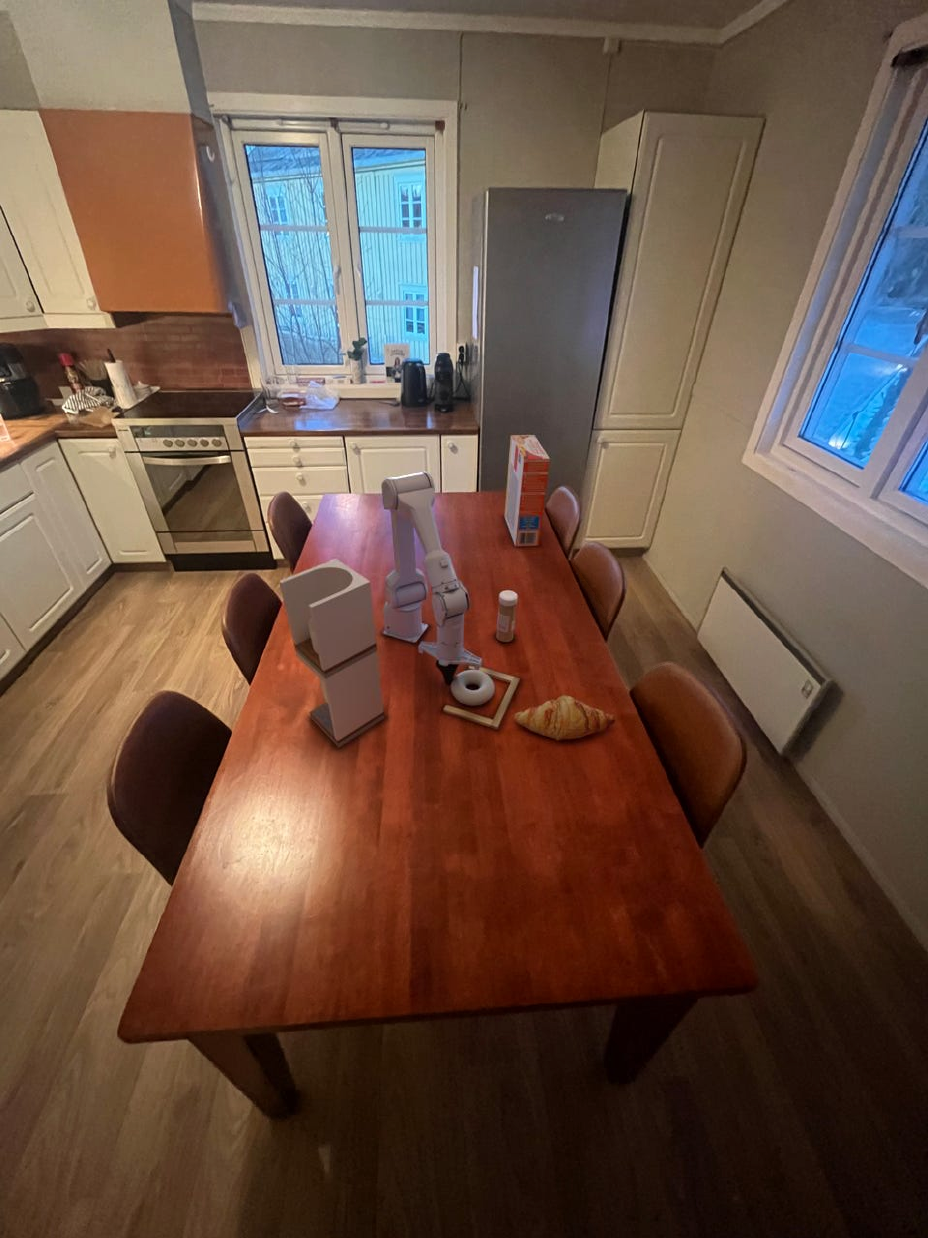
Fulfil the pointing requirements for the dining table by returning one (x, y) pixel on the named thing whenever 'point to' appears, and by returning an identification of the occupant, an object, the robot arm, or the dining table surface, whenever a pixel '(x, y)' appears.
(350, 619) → the grey pedestal stand
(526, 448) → the cereal box
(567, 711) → the croissant
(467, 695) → the donut
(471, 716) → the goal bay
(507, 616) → the sprinkles bottle
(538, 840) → the dining table surface
